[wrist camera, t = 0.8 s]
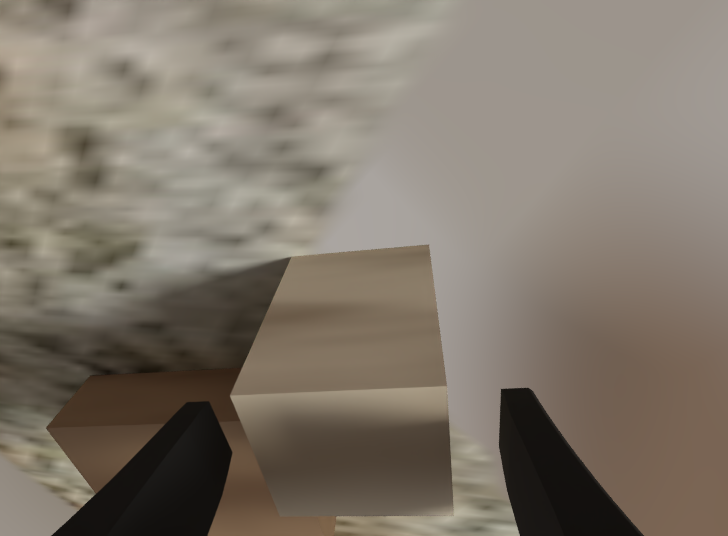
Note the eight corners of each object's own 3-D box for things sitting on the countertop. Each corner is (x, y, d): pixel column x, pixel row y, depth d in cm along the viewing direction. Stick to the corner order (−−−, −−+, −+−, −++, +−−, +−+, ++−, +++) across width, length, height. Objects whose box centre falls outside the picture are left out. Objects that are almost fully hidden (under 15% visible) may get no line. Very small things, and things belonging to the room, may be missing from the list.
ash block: (436, 352, 16) (453, 515, 11) (317, 358, 16) (279, 516, 11) (428, 244, 14) (446, 386, 8) (291, 256, 14) (230, 395, 9)
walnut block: (339, 491, 21) (330, 557, 19) (172, 494, 23) (143, 555, 20) (301, 357, 17) (284, 419, 14) (96, 368, 18) (45, 428, 15)
